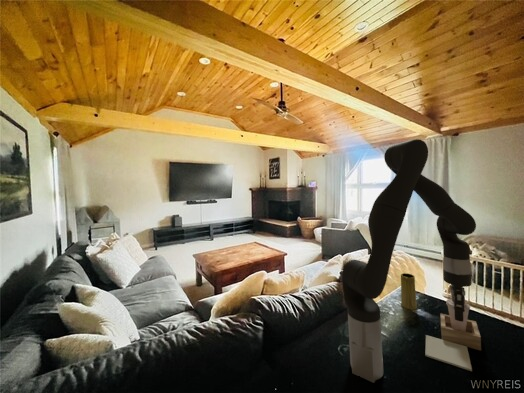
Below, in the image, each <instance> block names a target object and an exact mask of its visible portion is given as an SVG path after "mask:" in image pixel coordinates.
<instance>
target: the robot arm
mask: <svg viewBox="0 0 524 393" xmlns="http://www.w3.org/2000/svg"><path fill="white" fill-rule="evenodd" d="M428 157H429V147H428V145H427V143H426V142H425V141H424V140H422V139H419V138H418V139H417V138H416V139H414V138H413V139H410V140H406V141H404V142H399V143H397V144H394V145H392V146H390V147H388V148H387V149H386V150H385V152H384V156H383V158H384V162H385V164H386V167H387V168H389V169H390V170H391V172H393V173H394V174H395V176H394V177H393V179H392V180H391V182H390V183H389V184H388V185H387V186H386V187H385V188H384V189H383V190H382V191H381V192H380V194H378V196H377V197H376V199H375V200H374V202H373V204H372V207H371V210H370V213H369V216H368V219H367V220H368V223H367V226H368V231H369V236H370V240H371V249H370V250H371V251H370V253H369V258H368V260H367V262H364V261H362V260H359V259H349V260H348V261H347V262H346V263H345V264H344V267H343V269H342V272H341V274H342V275H341V280H342V282H341V283H342V290H343V300H344V304H345V306H346V308H347V323H348V325H347V326H348V342H349V361H350V367H351V372H352V374H353V375H355V376H357V377H359V376H360V378H363V379H364V380H366V381H369V382H371V383H375V382H376V381H377V380H380V379H381V378H382V377H383V375H384V360H383V340H382V320H381V317H382V316H381V308H380V306H379V305H378V303H377V302H376V301H375V300H376V299H377V298H379V296H380V295H381V294H382V293H383V291H384V288H385V286H386V284H387V280H388V276H389V271H390V266H391V262H392V256H393V252H394V250H395V245H396V243H397V239H398V237H399V232H400V231H401V228H402V226H403V223H404V220H405V216H406V214H407V210H408V208H409V207H408V206H409V203H410V201H411V198H412V195H413V192H415V194H417V195H418V197H419V198H420V199H421V200H422V201H423V203H424V204H425V205H426V206H427V207H428V209H429V211H431V213H433V215H435V216H438V217H437V220H436V228H437V231H438V234H439V236H440V240H441V243H442V246H443V247H442V252H443V254H442V255H443V256H442V257H443V258H442V274H443V281H444V282H445V283H446V284H448V285H449V291H450V296H451V299H452V302H454V311H455V320H457V321H461V322H463V312H464V311H465V310H464V304H465V302H466V290H465V287H466V288H467V287H470V286H472V283H473V282H472V263H471V257H470V256H471V255H470V254H471V253H470V249H471V248H470V244H469V243H468V242H467V241H465V240H463V239H460V238H459V237H458V235H459V236H460V235H461V236H467V235H468V236H469V235H471V234H473V233H475V231H476V229H477V222H476V220H475V219H474V217H473V216H472V214H470V213H469V212H468V211H467V210H465V209H464V208H463V207H461V206H460V205H458V204H457V203H456V202H455V201H454V200H453V199H452V197H451V196H450V195H449V193H448V192H447V191H446V190H445V188H443V187H442V186H441V185H440V184H438V183H437V182H435V181H433V180H431V179H430V178H428V177H426V176H425V175H424V174H422V172H423V170H424V169H425V166H426V164H427V162H428ZM374 299H375V300H374ZM456 305H461V307H458V306H456Z"/></svg>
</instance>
